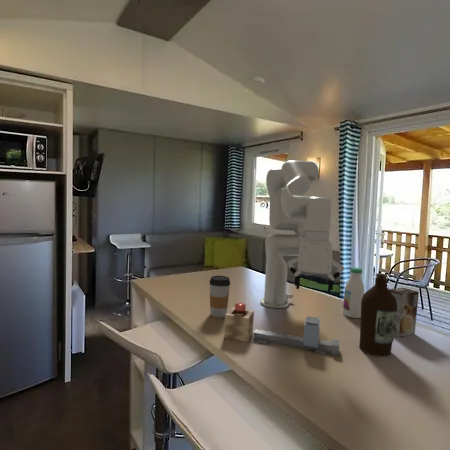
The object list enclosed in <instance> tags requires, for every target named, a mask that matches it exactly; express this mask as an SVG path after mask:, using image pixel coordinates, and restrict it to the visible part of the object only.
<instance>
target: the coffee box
mask: <svg viewBox="0 0 450 450" xmlns="http://www.w3.org/2000/svg"><path fill="white" fill-rule="evenodd" d="M388 289H389V288H388ZM389 291H390V292H391V293H392V294H393V295H394V297H395V298H396V301H397V314H396V320H395V327H394V333H393V336H394V335H395V336H394V337H397V336H398V337H397V338H402V337H401V336H403V337H406V336H405V335H407V336H411V335H416V334H415V333H416V323H417V315H418V314H417V313H418V306H419V305H418V303H419V291H417V290H415V289H414V290H412V289H410V288H407V287H406V288H405V287H398V288H390V289H389Z"/></svg>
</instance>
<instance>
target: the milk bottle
mask: <svg viewBox="0 0 450 450" xmlns="http://www.w3.org/2000/svg"><path fill="white" fill-rule="evenodd" d="M349 271H350V272H349V273H350V275H349V278H348V280H346V283H345V286H344V297H343V307H342V308H343V309H342V313H343V315H344V316H346V317H347V318H351V319H361V300H362V297H363V295H364V294H365V285H364V282H363V278H362V275H363V269H362V268H360V267H351V268H350V269H349Z"/></svg>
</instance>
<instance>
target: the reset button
mask: <svg viewBox="0 0 450 450" xmlns="http://www.w3.org/2000/svg"><path fill="white" fill-rule="evenodd" d="M234 308H235V312H236V313H237V315H241V316H243V313H245V309H246V308H247V307H246V304H245V302H244V303H242V302H236V303H234Z"/></svg>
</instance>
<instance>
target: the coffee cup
mask: <svg viewBox="0 0 450 450" xmlns="http://www.w3.org/2000/svg"><path fill="white" fill-rule="evenodd" d="M230 285H231V280H230V277H229V276H226V275H213V276H211V277H210V279H209V307H210V312H209V313H210V315H211V317H213V318H225V314H226V313H227V312H228V306H229V295H230V288H231V287H230Z"/></svg>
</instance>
